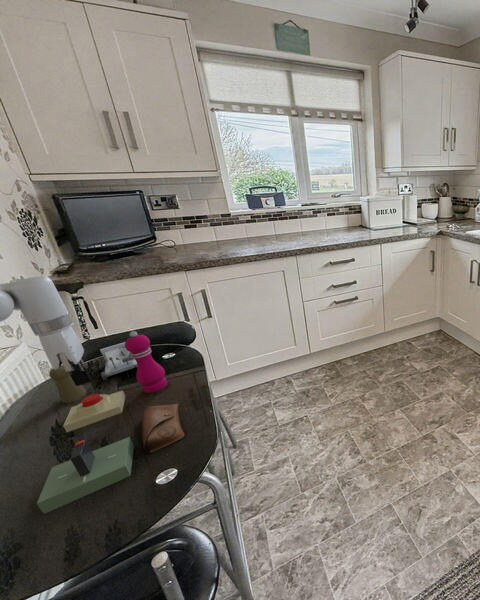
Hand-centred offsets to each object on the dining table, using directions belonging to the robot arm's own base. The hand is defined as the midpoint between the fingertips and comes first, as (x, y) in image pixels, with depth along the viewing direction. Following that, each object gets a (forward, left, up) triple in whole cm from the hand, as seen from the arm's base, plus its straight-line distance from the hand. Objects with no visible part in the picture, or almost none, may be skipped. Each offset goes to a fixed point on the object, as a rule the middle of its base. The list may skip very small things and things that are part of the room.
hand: (84, 382), depth 91 cm
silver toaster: (+4, +28, -11) cm, 30 cm away
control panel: (+3, -30, -10) cm, 32 cm away
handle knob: (+3, -30, -7) cm, 31 cm away
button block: (0, 0, -10) cm, 10 cm away
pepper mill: (+14, +4, -11) cm, 18 cm away
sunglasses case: (+16, -21, -11) cm, 29 cm away
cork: (-8, +17, -11) cm, 22 cm away
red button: (0, 0, -7) cm, 7 cm away
